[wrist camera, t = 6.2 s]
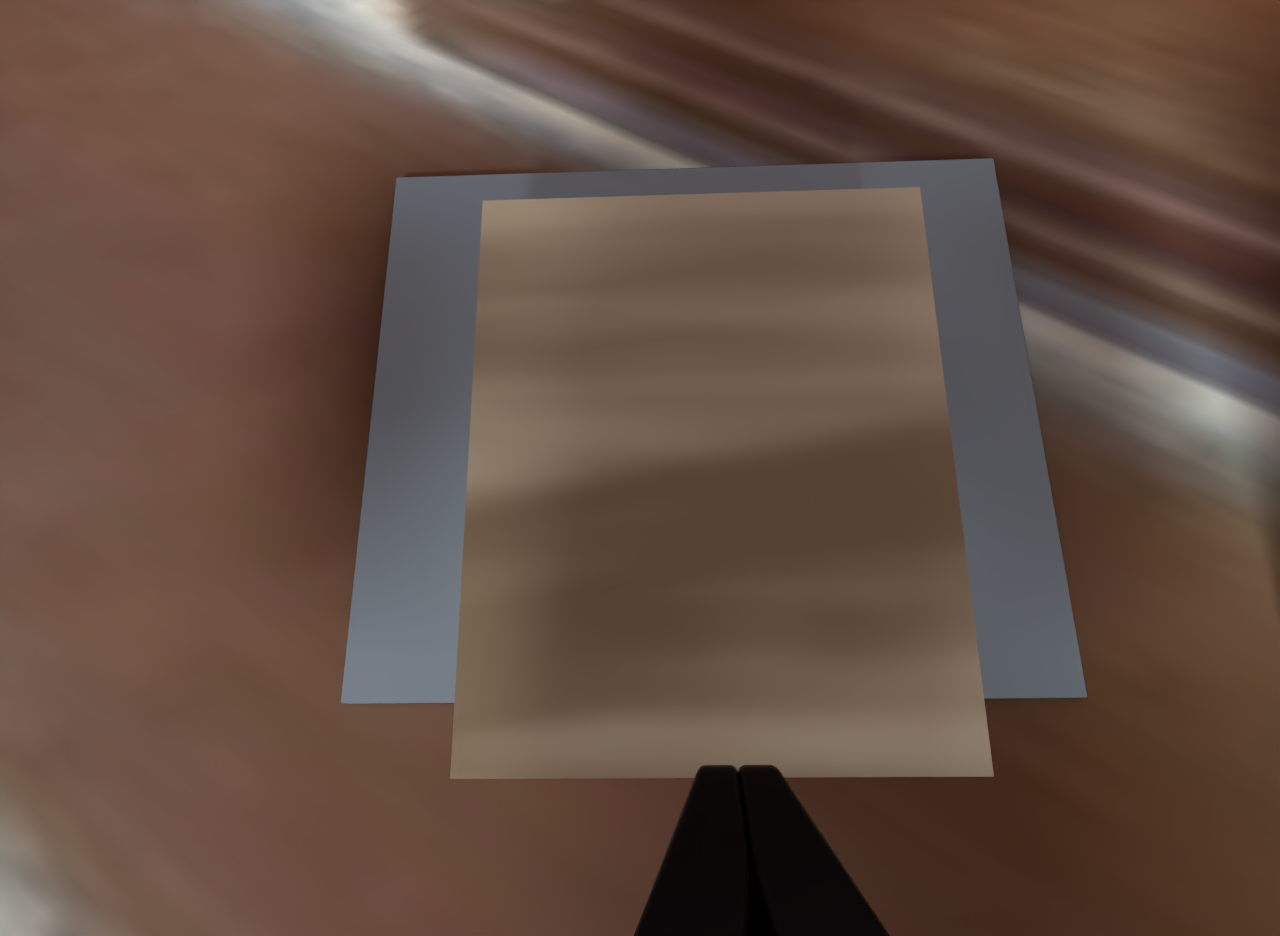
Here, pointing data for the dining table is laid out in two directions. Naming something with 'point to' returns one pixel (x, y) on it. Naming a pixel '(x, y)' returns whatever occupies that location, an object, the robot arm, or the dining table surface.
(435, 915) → the dining table surface
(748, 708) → the maple slab
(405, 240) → the rubber mat
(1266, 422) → the dining table surface
